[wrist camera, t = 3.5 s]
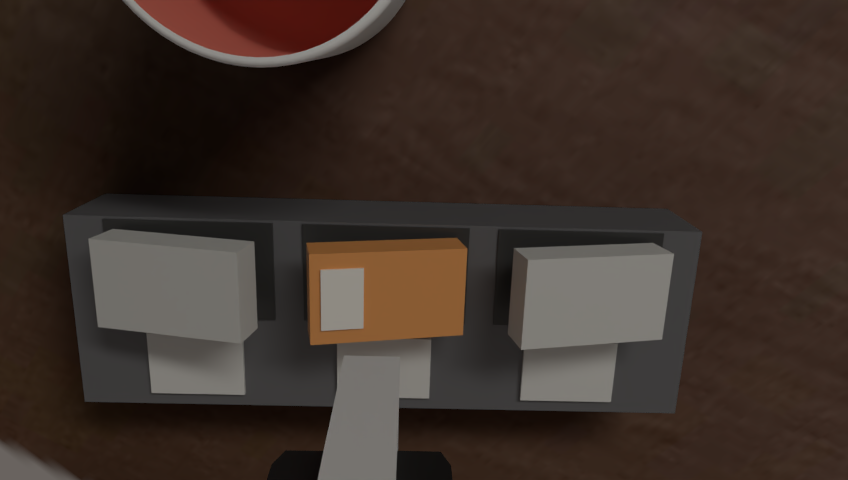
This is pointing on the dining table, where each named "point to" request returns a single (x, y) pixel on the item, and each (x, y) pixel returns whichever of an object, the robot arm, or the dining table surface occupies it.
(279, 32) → the cup
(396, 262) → the block
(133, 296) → the block
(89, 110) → the dining table surface
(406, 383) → the switch panel
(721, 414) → the dining table surface
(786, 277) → the dining table surface
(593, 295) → the rocker
